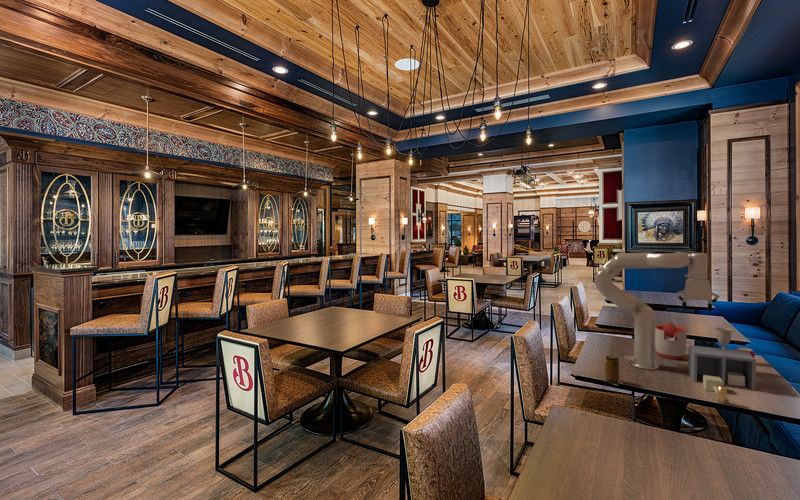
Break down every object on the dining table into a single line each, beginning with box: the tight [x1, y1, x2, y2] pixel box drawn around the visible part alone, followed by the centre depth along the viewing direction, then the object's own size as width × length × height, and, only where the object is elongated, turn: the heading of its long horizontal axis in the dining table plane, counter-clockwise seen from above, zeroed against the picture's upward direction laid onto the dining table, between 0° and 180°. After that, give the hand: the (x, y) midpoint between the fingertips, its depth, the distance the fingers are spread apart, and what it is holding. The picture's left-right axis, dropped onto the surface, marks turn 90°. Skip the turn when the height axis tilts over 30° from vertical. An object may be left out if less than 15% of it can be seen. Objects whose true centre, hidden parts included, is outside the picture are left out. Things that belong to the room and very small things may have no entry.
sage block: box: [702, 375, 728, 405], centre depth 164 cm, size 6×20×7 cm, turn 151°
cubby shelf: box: [687, 344, 757, 391], centre depth 180 cm, size 22×14×14 cm, turn 61°
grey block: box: [725, 371, 746, 388], centre depth 177 cm, size 6×6×5 cm
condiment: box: [604, 354, 620, 386], centre depth 181 cm, size 7×8×12 cm
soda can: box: [737, 347, 756, 359], centre depth 191 cm, size 7×7×12 cm
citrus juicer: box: [655, 322, 688, 360], centre depth 216 cm, size 16×17×20 cm
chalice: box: [715, 326, 733, 349], centre depth 208 cm, size 7×7×18 cm
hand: (696, 310), depth 190 cm, fingers open, 9 cm apart
